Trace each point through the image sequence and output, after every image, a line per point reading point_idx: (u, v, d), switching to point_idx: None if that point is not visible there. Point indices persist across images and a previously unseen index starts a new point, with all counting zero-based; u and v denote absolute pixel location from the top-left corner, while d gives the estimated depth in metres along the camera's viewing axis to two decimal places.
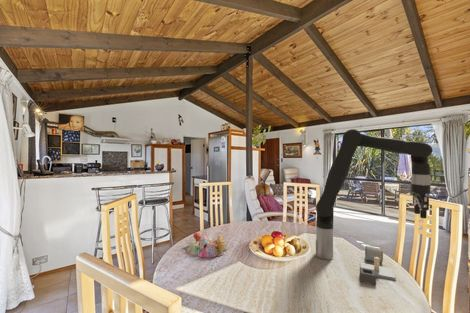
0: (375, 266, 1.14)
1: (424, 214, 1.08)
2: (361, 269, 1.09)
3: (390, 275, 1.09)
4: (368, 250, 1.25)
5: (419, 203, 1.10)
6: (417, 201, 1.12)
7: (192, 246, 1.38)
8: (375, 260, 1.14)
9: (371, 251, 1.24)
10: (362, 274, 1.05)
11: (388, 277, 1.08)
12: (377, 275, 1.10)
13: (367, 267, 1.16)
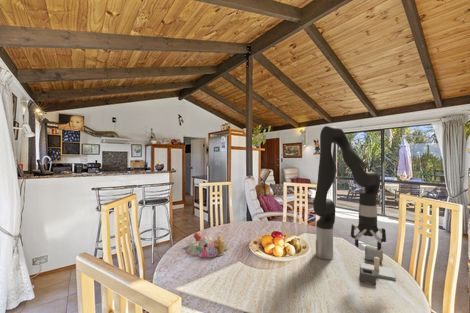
0: (375, 266, 1.14)
1: (380, 245, 1.05)
2: (361, 269, 1.09)
3: (390, 275, 1.09)
4: (368, 250, 1.26)
5: (377, 236, 1.04)
6: (372, 234, 1.05)
7: (192, 246, 1.39)
8: (375, 260, 1.14)
9: (371, 251, 1.25)
10: (362, 274, 1.05)
11: (388, 277, 1.08)
12: (377, 275, 1.10)
13: (367, 267, 1.16)
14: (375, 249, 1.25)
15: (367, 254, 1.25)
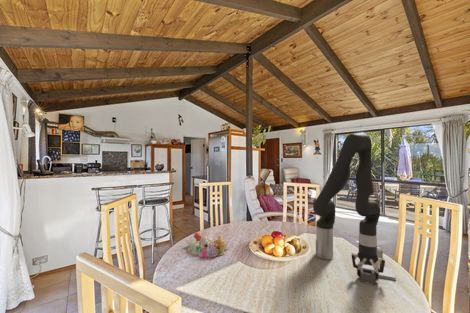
0: None
1: (377, 276, 1.05)
2: (361, 269, 1.09)
3: (390, 275, 1.09)
4: None
5: (375, 266, 1.05)
6: (371, 263, 1.05)
7: (193, 246, 1.39)
8: None
9: None
10: (362, 274, 1.05)
11: (388, 277, 1.08)
12: None
13: (367, 267, 1.16)
14: None
15: None
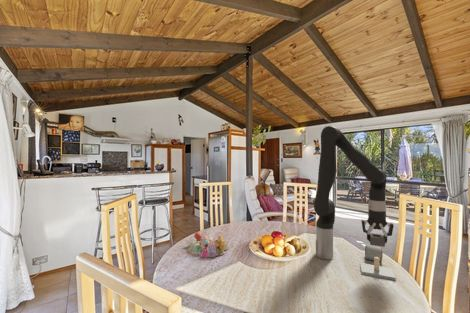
0: (375, 266, 1.14)
1: (386, 239, 1.12)
2: (371, 234, 1.16)
3: (390, 275, 1.09)
4: (368, 249, 1.27)
5: (384, 230, 1.11)
6: (381, 227, 1.12)
7: (193, 246, 1.39)
8: (375, 260, 1.14)
9: (371, 250, 1.26)
10: (372, 238, 1.12)
11: (388, 277, 1.08)
12: (377, 275, 1.10)
13: (367, 267, 1.16)
14: (375, 248, 1.26)
15: (367, 253, 1.26)
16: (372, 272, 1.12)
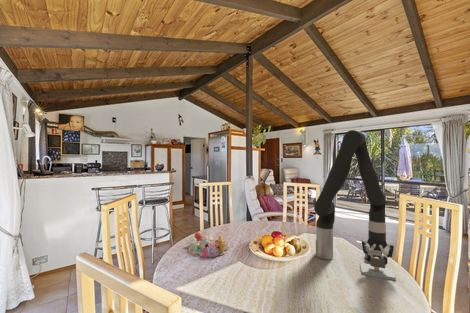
0: None
1: None
2: (371, 255, 1.16)
3: (390, 275, 1.09)
4: (368, 248, 1.27)
5: (384, 251, 1.11)
6: (381, 249, 1.12)
7: (193, 246, 1.39)
8: None
9: None
10: (372, 259, 1.12)
11: (388, 277, 1.08)
12: (377, 275, 1.10)
13: (367, 267, 1.16)
14: None
15: None
16: (372, 272, 1.12)
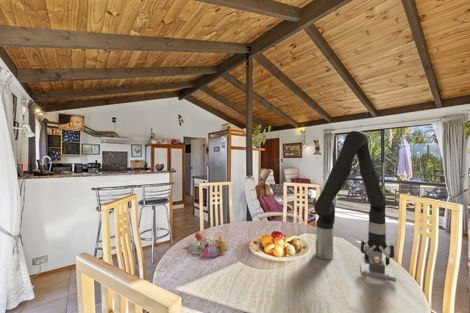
0: None
1: None
2: (370, 260, 1.16)
3: (390, 275, 1.09)
4: None
5: (385, 252, 1.11)
6: (381, 250, 1.12)
7: (194, 246, 1.39)
8: (375, 260, 1.14)
9: None
10: (372, 264, 1.12)
11: (388, 277, 1.08)
12: (377, 275, 1.10)
13: (367, 267, 1.16)
14: None
15: None
16: (372, 272, 1.12)
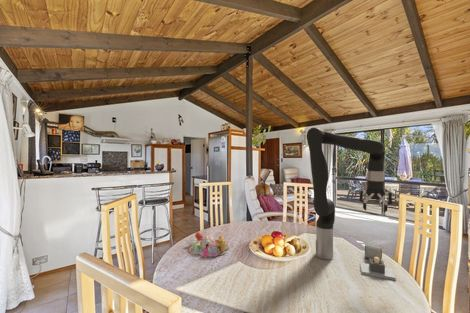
0: None
1: (386, 208, 1.15)
2: (370, 260, 1.16)
3: (390, 275, 1.09)
4: (367, 248, 1.28)
5: (383, 199, 1.14)
6: (379, 197, 1.14)
7: (194, 245, 1.39)
8: (375, 260, 1.14)
9: (370, 249, 1.27)
10: (372, 264, 1.12)
11: (388, 277, 1.08)
12: (377, 275, 1.10)
13: (367, 267, 1.16)
14: (374, 247, 1.27)
15: (367, 252, 1.27)
16: (372, 272, 1.12)
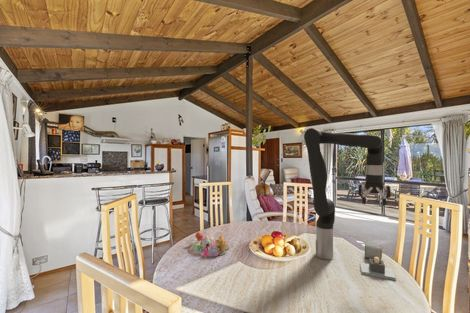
0: None
1: (385, 201, 1.16)
2: (370, 260, 1.16)
3: (390, 275, 1.09)
4: (367, 248, 1.28)
5: None
6: (378, 191, 1.15)
7: (194, 245, 1.39)
8: (375, 260, 1.14)
9: (370, 249, 1.28)
10: (372, 264, 1.12)
11: (388, 277, 1.08)
12: (377, 275, 1.10)
13: (367, 267, 1.16)
14: (374, 247, 1.28)
15: (366, 252, 1.28)
16: (372, 272, 1.12)
